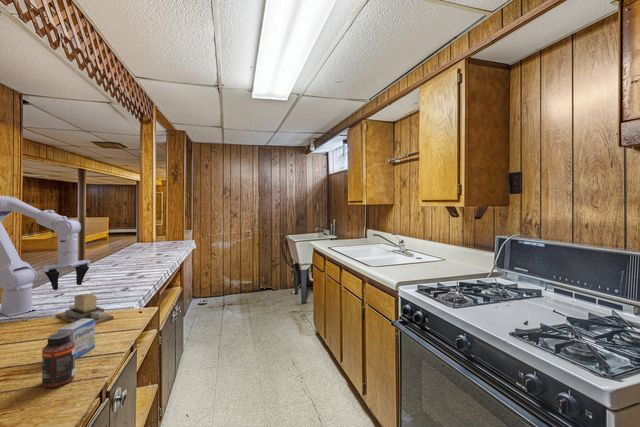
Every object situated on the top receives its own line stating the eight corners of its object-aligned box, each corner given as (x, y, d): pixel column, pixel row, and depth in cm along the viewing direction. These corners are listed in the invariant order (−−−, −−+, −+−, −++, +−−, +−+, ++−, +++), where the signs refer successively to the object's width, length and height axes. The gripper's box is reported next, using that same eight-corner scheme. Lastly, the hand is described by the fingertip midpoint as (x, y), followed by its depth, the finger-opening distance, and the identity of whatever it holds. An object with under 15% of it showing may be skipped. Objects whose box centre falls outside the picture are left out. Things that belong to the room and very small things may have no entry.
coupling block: (83, 318, 107) (84, 299, 107) (74, 315, 110) (74, 296, 109) (96, 315, 111) (96, 296, 110) (86, 311, 113) (87, 293, 113)
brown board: (56, 316, 110) (56, 308, 110) (84, 309, 118) (84, 301, 118) (85, 327, 102) (85, 319, 102) (113, 319, 110) (113, 310, 110)
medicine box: (72, 361, 81) (73, 329, 81) (56, 360, 82) (56, 328, 81) (95, 347, 89) (95, 318, 89) (80, 346, 89) (80, 317, 89)
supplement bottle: (81, 375, 75) (81, 330, 75) (58, 390, 69) (58, 341, 69) (59, 373, 76) (59, 328, 75) (34, 387, 70) (35, 339, 70)
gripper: (49, 255, 106) (49, 293, 107) (95, 250, 119) (94, 284, 120) (39, 253, 109) (39, 290, 110) (85, 248, 122) (84, 281, 123)
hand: (67, 287), depth 115 cm, fingers open, 7 cm apart
